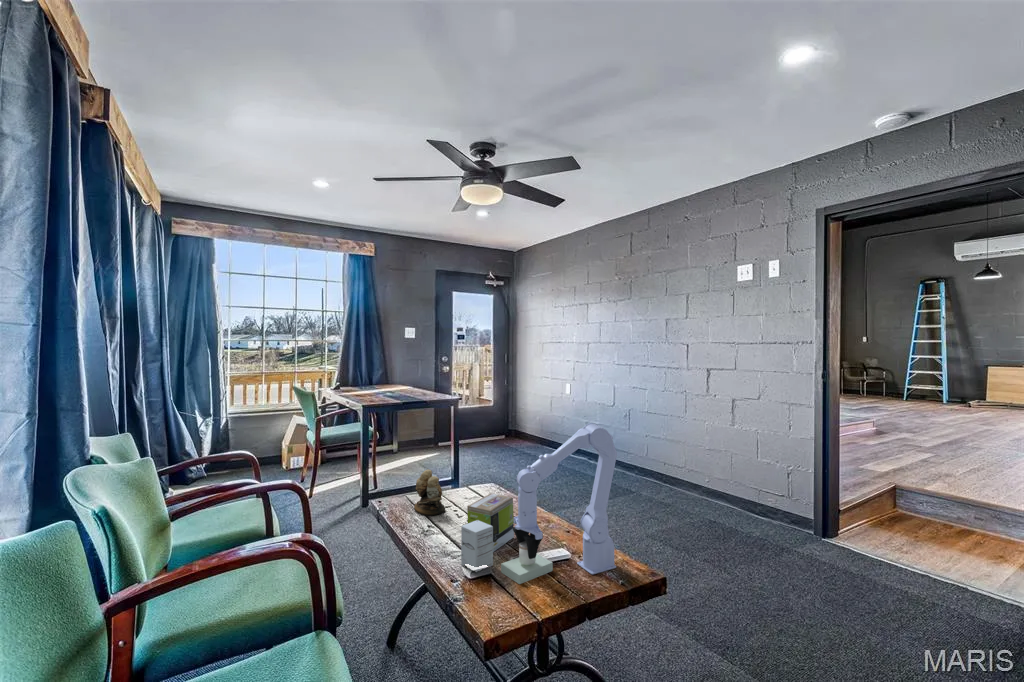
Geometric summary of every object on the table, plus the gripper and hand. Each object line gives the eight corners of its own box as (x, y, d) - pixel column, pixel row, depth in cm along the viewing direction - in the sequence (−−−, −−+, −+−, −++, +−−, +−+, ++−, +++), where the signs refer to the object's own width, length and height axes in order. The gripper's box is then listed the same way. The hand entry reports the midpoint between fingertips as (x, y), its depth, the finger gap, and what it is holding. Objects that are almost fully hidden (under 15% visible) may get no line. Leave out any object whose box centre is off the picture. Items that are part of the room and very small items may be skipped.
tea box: (491, 532, 174) (491, 492, 174) (514, 538, 169) (514, 496, 169) (466, 547, 162) (466, 504, 162) (491, 554, 156) (491, 509, 156)
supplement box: (460, 565, 149) (460, 525, 149) (478, 557, 154) (478, 519, 154) (475, 573, 144) (475, 532, 144) (493, 565, 149) (493, 525, 149)
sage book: (533, 561, 153) (533, 551, 153) (552, 572, 145) (552, 562, 145) (500, 573, 145) (500, 563, 145) (519, 585, 137) (519, 575, 137)
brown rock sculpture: (452, 513, 194) (452, 472, 193) (425, 520, 187) (425, 477, 187) (433, 500, 208) (433, 462, 208) (408, 506, 202) (407, 466, 201)
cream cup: (531, 556, 148) (531, 540, 148) (538, 563, 143) (539, 546, 143) (515, 559, 146) (516, 542, 146) (523, 566, 141) (523, 549, 141)
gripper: (505, 504, 149) (505, 547, 149) (527, 520, 136) (527, 567, 136) (524, 500, 152) (524, 543, 152) (548, 515, 140) (548, 561, 140)
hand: (527, 554), depth 145 cm, fingers closed on cream cup, 5 cm apart
